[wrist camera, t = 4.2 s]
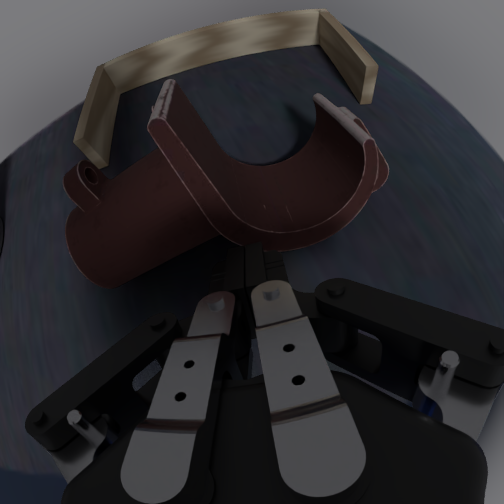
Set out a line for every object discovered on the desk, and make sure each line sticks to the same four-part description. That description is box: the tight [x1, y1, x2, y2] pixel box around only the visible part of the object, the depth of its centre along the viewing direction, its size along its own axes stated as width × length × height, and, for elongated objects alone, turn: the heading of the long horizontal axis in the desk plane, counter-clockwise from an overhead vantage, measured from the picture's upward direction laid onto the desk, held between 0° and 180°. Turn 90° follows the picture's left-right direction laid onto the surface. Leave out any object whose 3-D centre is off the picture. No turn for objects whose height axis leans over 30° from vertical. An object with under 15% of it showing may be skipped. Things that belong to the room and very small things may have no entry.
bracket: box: [63, 79, 389, 289], centre depth 14 cm, size 6×17×10 cm, turn 109°
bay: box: [73, 9, 378, 169], centre depth 21 cm, size 23×11×4 cm, turn 100°
